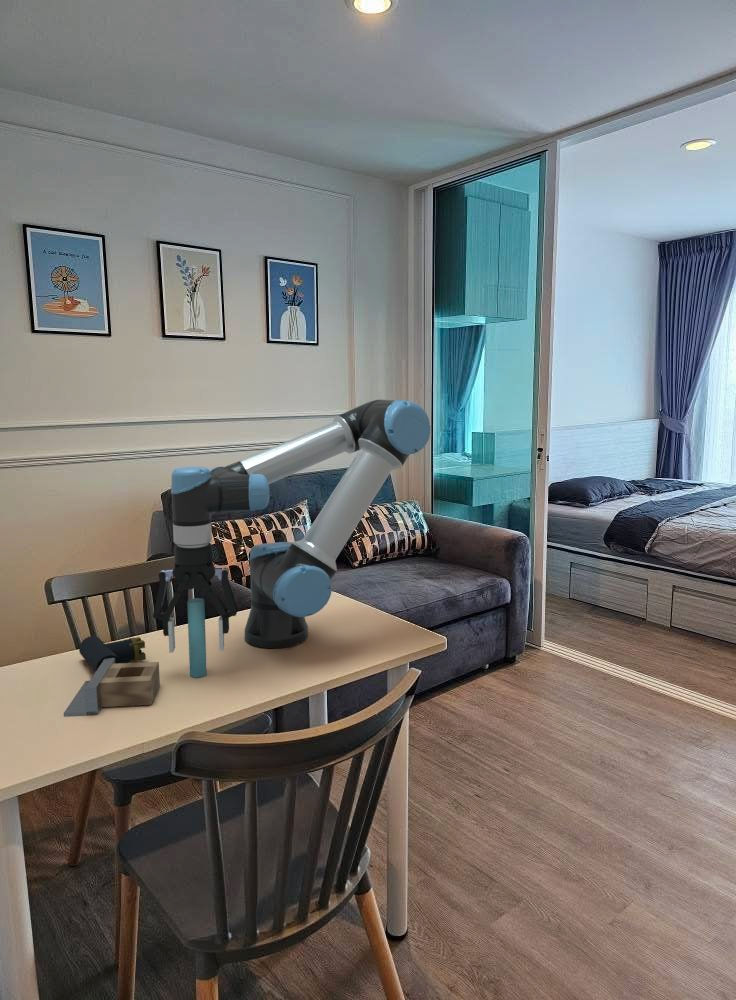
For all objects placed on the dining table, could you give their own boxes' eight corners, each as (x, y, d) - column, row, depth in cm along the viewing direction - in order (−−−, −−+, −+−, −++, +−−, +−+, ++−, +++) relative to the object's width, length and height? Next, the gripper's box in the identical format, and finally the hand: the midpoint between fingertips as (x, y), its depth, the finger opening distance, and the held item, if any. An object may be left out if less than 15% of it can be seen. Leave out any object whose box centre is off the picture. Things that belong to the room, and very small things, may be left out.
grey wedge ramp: (116, 682, 138) (115, 657, 137) (98, 714, 124) (96, 687, 124) (85, 683, 137) (84, 659, 137) (63, 716, 124) (61, 689, 123)
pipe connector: (131, 628, 155) (152, 645, 143) (133, 650, 156) (153, 669, 143) (78, 637, 148) (95, 657, 136) (79, 661, 149) (97, 682, 137)
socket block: (159, 684, 137) (158, 661, 136) (151, 704, 128) (149, 680, 127) (113, 686, 136) (112, 663, 135) (101, 707, 127) (100, 682, 126)
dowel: (207, 670, 144) (205, 598, 141) (205, 677, 141) (203, 603, 138) (191, 671, 143) (188, 598, 141) (188, 678, 140) (186, 603, 138)
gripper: (249, 538, 143) (251, 640, 146) (140, 540, 140) (146, 644, 144) (247, 546, 135) (250, 653, 139) (132, 549, 133) (138, 658, 136)
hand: (197, 649), depth 141 cm, fingers open, 9 cm apart
